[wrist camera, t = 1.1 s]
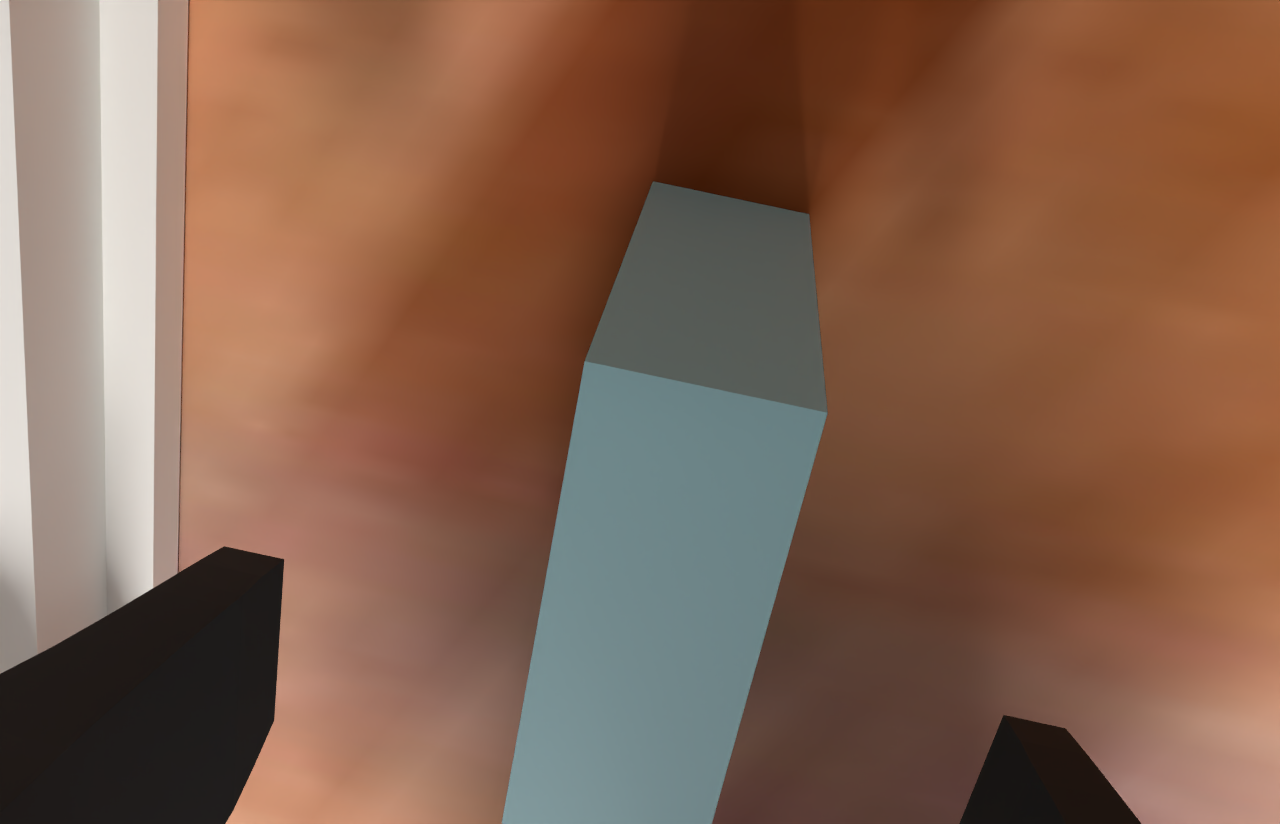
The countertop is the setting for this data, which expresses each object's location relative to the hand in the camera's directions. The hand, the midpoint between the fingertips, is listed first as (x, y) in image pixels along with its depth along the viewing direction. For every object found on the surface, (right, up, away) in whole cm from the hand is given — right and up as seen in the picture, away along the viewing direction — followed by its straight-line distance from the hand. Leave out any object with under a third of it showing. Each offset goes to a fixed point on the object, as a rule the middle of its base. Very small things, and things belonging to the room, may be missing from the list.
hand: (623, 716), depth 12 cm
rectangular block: (+1, +2, +5) cm, 5 cm away
